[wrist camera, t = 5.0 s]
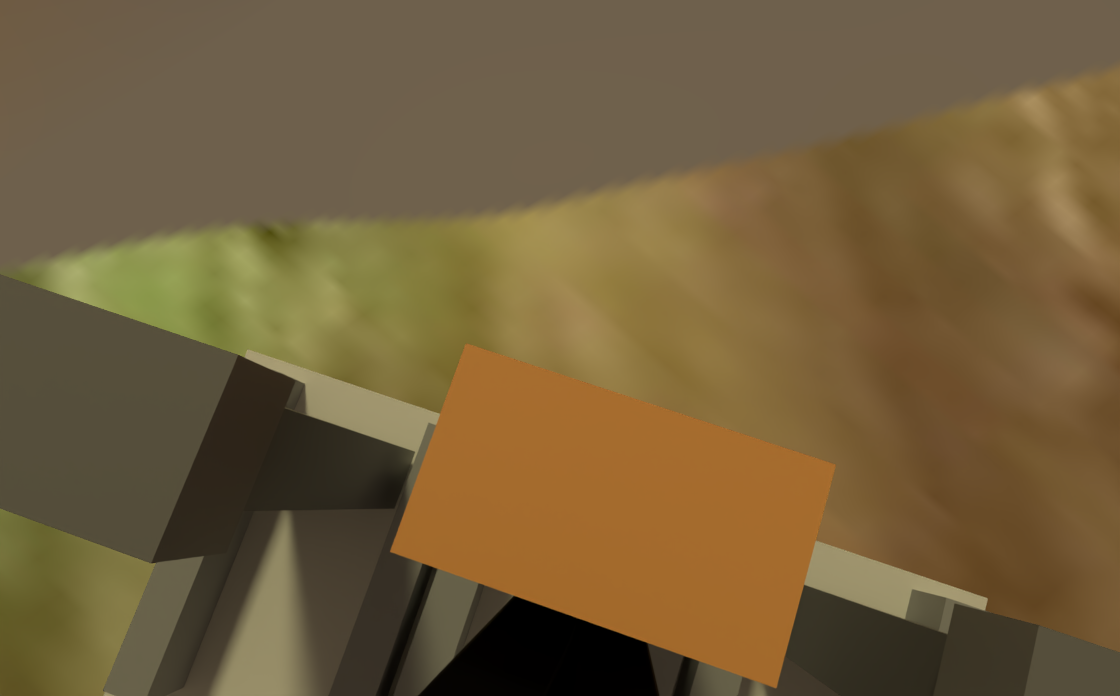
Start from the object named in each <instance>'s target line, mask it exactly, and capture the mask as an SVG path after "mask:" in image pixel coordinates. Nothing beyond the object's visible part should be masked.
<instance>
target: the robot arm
mask: <svg viewBox="0 0 1120 696" xmlns="http://www.w3.org/2000/svg"><path fill="white" fill-rule="evenodd" d="M418 696H660V694H659V690H658V685H657V681H656V676H655V672H654V667H653V663H652V659H651V654H650V650H649V645H648V643H647V642H644V641H641V640H638V639H635V638H632V637H630V636H627V635H624V634H621V633H618V632H615V631H613V630H610V629H607V628H604V627H601V626H598V625H596V624H593V623H590V622H587V621H584V620H582V619H579V618H576V617H573V616H570V615H567V614H565V613H562V612H559V611H556V610H553V609H550V608H548V607H545V606H542V605H539V604H536V603H533V602H531V601H528V600H525V599H522V598H519V597H516V596H513V597H512V598H511V599H510V600H509V601H508V602H507V603H506V604H505V605H504V606H503V607H502V608H501V609H500V610H499V611H498V612H497V613H496V614H495V615H494V617H493V618H492V619H491V620H490V621H489V622H488V623H487V624H486V625H485V626H484V627H483V628H482V629H481V630H480V631H479V632H478V633H477V634H476V635H475V636H474V637H473V638H472V639H471V640H470V642H469V643H468V644H467V645H466V646H465V647H464V648H463V649H462V650H461V651H460V652H459V653H458V654H457V655H456V656H455V657H454V658H453V659H452V660H451V661H450V662H449V663H448V664H447V666H446V667H445V668H444V669H443V670H442V671H441V672H440V673H439V674H438V675H437V676H436V677H435V678H434V679H433V680H432V681H431V682H430V683H429V684H428V685H427V686H426V687H425V688H424V690H423V691H422V692H421V693H420V694H419V695H418Z"/></svg>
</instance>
